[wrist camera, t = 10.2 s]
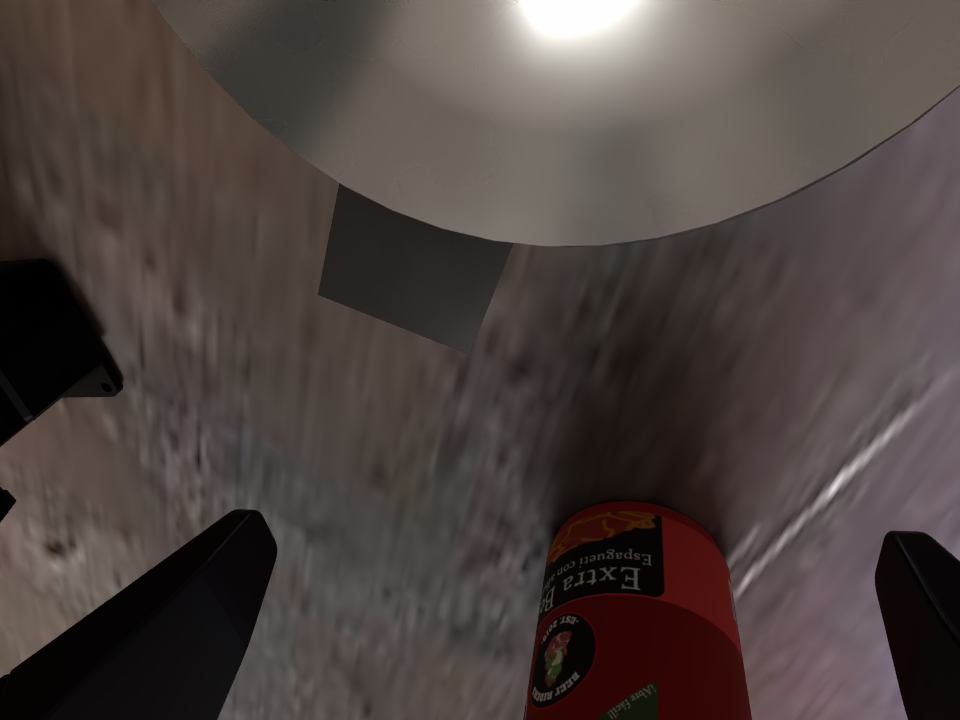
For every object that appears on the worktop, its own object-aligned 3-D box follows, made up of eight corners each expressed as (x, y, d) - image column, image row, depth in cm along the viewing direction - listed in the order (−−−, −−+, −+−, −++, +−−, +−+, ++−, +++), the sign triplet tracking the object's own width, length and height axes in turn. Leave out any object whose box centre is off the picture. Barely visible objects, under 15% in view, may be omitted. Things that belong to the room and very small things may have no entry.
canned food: (641, 466, 25) (644, 768, 16) (769, 575, 27) (837, 899, 18) (512, 543, 29) (457, 817, 20) (631, 632, 31) (630, 919, 22)
